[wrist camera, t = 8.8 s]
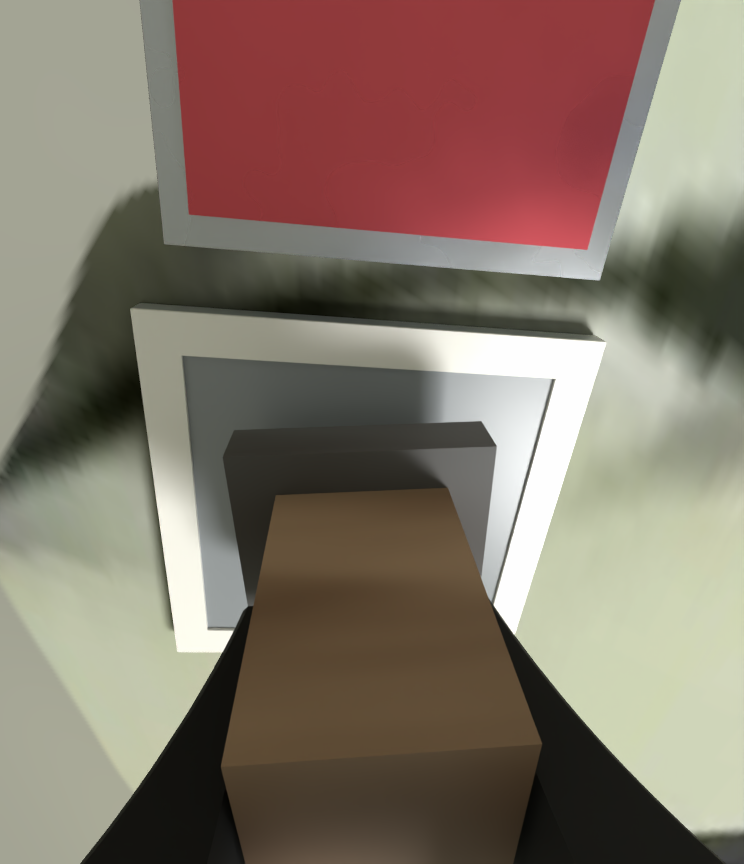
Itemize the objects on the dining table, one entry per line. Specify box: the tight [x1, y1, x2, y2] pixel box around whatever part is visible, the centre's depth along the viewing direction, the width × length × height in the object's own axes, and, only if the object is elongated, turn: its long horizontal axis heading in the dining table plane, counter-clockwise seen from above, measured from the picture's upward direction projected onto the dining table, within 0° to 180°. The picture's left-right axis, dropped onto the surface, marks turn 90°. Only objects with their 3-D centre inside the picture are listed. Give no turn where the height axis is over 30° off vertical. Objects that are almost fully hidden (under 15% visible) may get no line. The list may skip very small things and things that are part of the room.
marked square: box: [130, 303, 607, 652], centre depth 14 cm, size 11×11×1 cm
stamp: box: [221, 421, 542, 864], centre depth 9 cm, size 6×6×6 cm
